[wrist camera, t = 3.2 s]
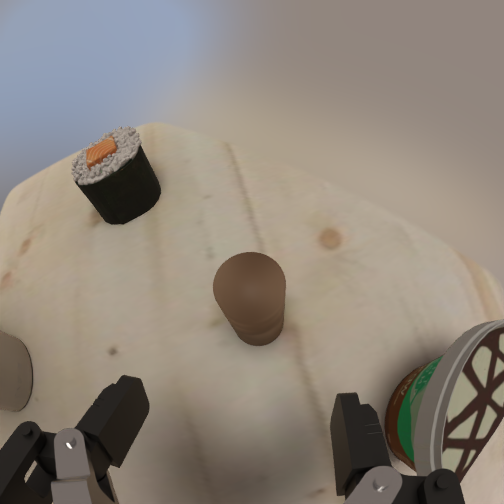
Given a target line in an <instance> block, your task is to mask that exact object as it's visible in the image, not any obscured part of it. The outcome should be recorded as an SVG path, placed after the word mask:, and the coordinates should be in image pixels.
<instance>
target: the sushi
mask: <svg viewBox="0 0 504 504" xmlns="http://www.w3.org/2000/svg"><path fill="white" fill-rule="evenodd" d="M130 128H131V127H129V126H128V127H125V128H124V129H122V127H119V128H118V129H117V131H116V129H113V131H112V133H111V132H109V133H108V134H107V133H104V134H103V137H101V139H99V140H98V141H97V142H94V145H93V143H92V142H91V143H90V145H89V147H88V148H86V150H85V149H82V152H81V154H79V155H77V158H76V159H74V160H73V162H72V165H73V167H72V170H73V172H72V173H71V174H72V175H73V176H74V178H73V179H74V181H75V183H76V184H77V185H78V187H79V188H80V189H81V191H82V192H83V193H84V194H85V195H86V197H87V198H88V199H89V200H90V202H91V203H92V204H93V206H94V207H95V208H96V210H97V211H98V212H99V214H100V215H101V216H102V218H103V219H104V220H105V222H107V223H110V224H120V223H121V224H124V223H126V222H128V221H130V220H132V219H134V218H136V217H138V216H140V215H142V214H144V213H145V212H147V211H148V210H150V209H151V208H152V207H153V206H154V205H155V203H156V202H157V201H158V199H159V196H160V194H161V188H160V185H159V182H158V179H157V177H156V175H155V173H154V171H153V169H152V167H151V165H150V163H149V161H148V159H147V157H146V155H145V153H144V151H143V149H142V147H141V143H142V142H141V140H140V139H139V138H138V137H139V133H136V134H135V132H136V129H134V128H131V129H130Z"/></svg>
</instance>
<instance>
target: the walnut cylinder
mask: <svg viewBox="0 0 504 504" xmlns="http://www.w3.org/2000/svg"><path fill="white" fill-rule="evenodd" d="M285 290H286V280H285V276H284V273H283V271H282V269H281V267H280V266H279V265H278V263H277V262H276V261H274V260H273V259H272V258H270V257H269V256H266V255H264V254H261V253H256V252H246V253H241V254H237V255H235V256H233V257H231V258H229V259H228V260H227V261H225V262H224V263H223V264H222V265H221V266H220V268H219V269H218V271H217V273H216V275H215V278H214V282H213V292H214V296H215V299H216V301H217V303H218V305H219V306H220V308H221V310H222V311H223V313H224V314H225V316H226V318H227V319H228V321H229V322H230V324H231V325H232V327H233V329H234V330H235V332H236V333H237V335H238V336H239V337H240V339H242V340H243V341H244V342H246V343H248V344H250V345H254V346H262V345H266V344H269V343H271V342H272V341H274V340H275V339H276V338H277V337H278V336H279V334H280V333H281V331H282V328H283V320H284V306H285Z"/></svg>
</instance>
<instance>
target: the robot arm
mask: <svg viewBox="0 0 504 504" xmlns="http://www.w3.org/2000/svg"><path fill="white" fill-rule="evenodd" d="M31 387H32V367H31V362H30V358H29V354H28V352H27V349H26V347H25V346H24V344H23V343H22V342H21V341H20V340H19V339H18V338H15V337H13V336H11V335H9V334H7V333H4V332H2V331H0V409H3V410H9V411H19V410H21V409H22V408H23V407H24V406H25V405H26V403H27V401H28V399H29V396H30V393H31ZM148 413H149V401H148V398H147V395H146V392H145V389H144V386H143V383H142V381H141V379H140V378H136V377H131V376H127V375H123V376H121V377H120V379H119V380H118V381H117V383H116V384H113V383H112V384H111V385H109V386H108V387H106V388H105V389H103V391H102V392H101V393H100V395H99V396H98V399H96V400H95V401H94V403H93V405H91V407H90V408H89V409H88V411H87V412H86V413H85V415H84V416H83V417H82V419H81V420H80V422H79V423H78V424H77V426H76V427H75V428H66V429H63V430H61V431H60V432H58V433H57V434H56V433H49V432H43V431H42V430H41V429H40V427H39V426H38V425H37V424H36V423H35V422H31V421H27V422H23V423H22V424H20V425H19V426H18V427H17V428H16V430H15V431H14V432H13V434H12V435H11V436H10V438H9V439H8V440H7V442H6V443H5V444H4V446H3V447H2V448H1V450H0V504H52V502H53V503H54V504H119V502H118V499H117V496H116V493H115V490H114V487H113V483H112V480H111V476H110V473H109V471H108V468H109V466H110V465H113V466H115V467H118V468H120V466H121V465H122V463H123V461H124V459H125V457H126V455H127V453H128V451H129V449H130V447H131V445H132V444H133V442H134V440H135V438H136V436H137V434H138V432H139V430H140V428H141V427H142V425H143V423H144V421H145V419H146V417H147V415H148ZM330 431H331V440H332V449H333V458H334V468H335V479H336V491H337V496H342V495H345V502H344V503H343V504H465V501H464V497H463V494H462V490H461V486H460V483H459V479H458V477H457V475H456V474H455V473H454V472H453V471H452V470H449V469H445V468H441V469H437V470H434V471H433V472H431V473H430V474H429V475H428V476H408V475H403V474H401V473H399V472H398V471H397V470H396V469H394V468H393V467H392V465H391V462H390V459H389V455H388V451H387V448H386V444H385V440H384V437H383V433H382V429H381V426H380V425H379V419H378V416H377V412H376V411H375V410H374V409H373V408H372V407H371V406H370V405H369V404H362V405H360V402H359V398H358V395H357V393H356V392H354V393H339V394H337V396H336V400H335V404H334V408H333V412H332V416H331V423H330ZM34 460H35V461H36V463H37V465H36V467H35V469H34V470H33V472H32V474H31V475H30V477H29V478H28V480H27V482H26V483H25V480H24V477H25V475H26V473H27V471H28V470H29V468H30V467H31V465H32V463H33V462H34Z"/></svg>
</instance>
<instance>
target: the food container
mask: <svg viewBox="0 0 504 504" xmlns="http://www.w3.org/2000/svg"><path fill="white" fill-rule="evenodd" d="M503 417H504V319H503V320H497V321H491V322H486V323H482V324H480V325H477V326H474V327H473V328H471V329H470V330H468V331H466V332H465V333H464V334H463V335H461V336H460V337H459V338H458V339H457V340H456V341H455V342H454V343H453V344H452V345H451V347H450V348H449V349H448V350H447V351H446V353H445V354H444V355H443V356H441V357H439V358H438V359H436V360H434V361H432V362H430V363H428V364H426V365H424V366H422V367H419V368H417V369H415V370H413V371H412V372H411V373H410V374H409V375H407V376H406V377H405V378H404V379H403V380H402V381H401V382H400V384H399V385H398V386H397V388H396V389H395V391H394V393H393V394H392V397H391V399H390V401H389V404H388V407H387V410H386V416H385V435H386V439H387V443H388V445H389V447H390V449H391V451H392V452H393V453H394V455H395V456H396V457H398V458H399V459H400V460H401V461H402V462H404V463H405V464H406V465H407V466H409V467H410V468H411V469H413V470H414V471H415V472H417V476H428V475H429V474H430V473H431V472H433V471H434V470H437V469H441V468H445V469H449V470H452V471H453V472H454V473H455V474H456V475H457V477H458V479H459V483H461V481H462V479H463V478H464V476H465V475H466V473H467V471H468V470H469V468H470V467H471V466H472V464H473V463H474V461H475V460H476V458H477V457H478V455H479V454H480V452H481V451H482V449H483V448H484V446H485V445H486V444H487V442H488V441H489V439H490V438H491V436H492V435H493V433H494V432H495V430H496V429H497V427H498V426H499V424H500V422H501V421H502V419H503Z"/></svg>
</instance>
